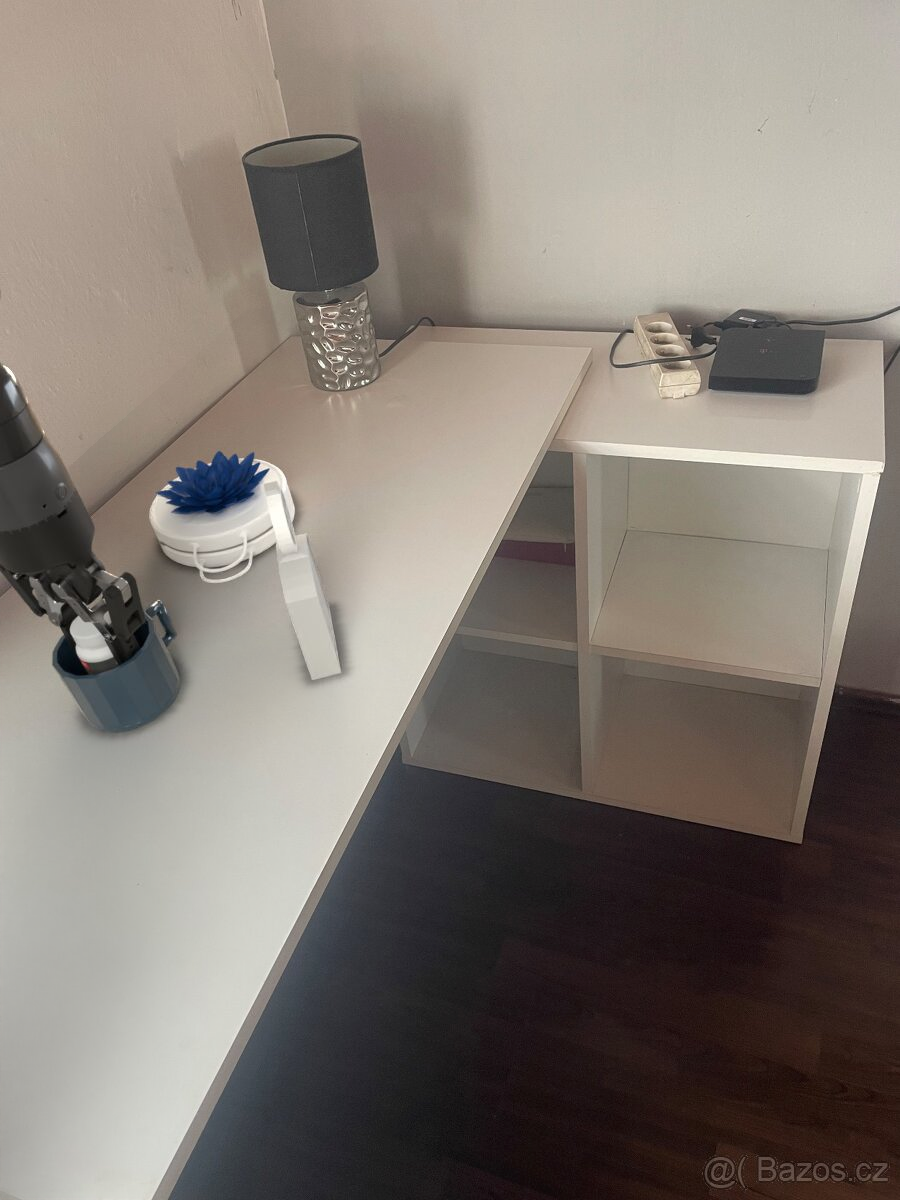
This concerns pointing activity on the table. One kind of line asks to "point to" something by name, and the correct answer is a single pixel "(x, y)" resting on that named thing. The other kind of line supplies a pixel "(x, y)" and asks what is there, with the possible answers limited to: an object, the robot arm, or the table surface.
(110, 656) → the pill bottle
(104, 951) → the table surface
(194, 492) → the white round gift box
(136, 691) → the mug
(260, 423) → the table surface
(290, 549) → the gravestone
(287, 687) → the table surface
